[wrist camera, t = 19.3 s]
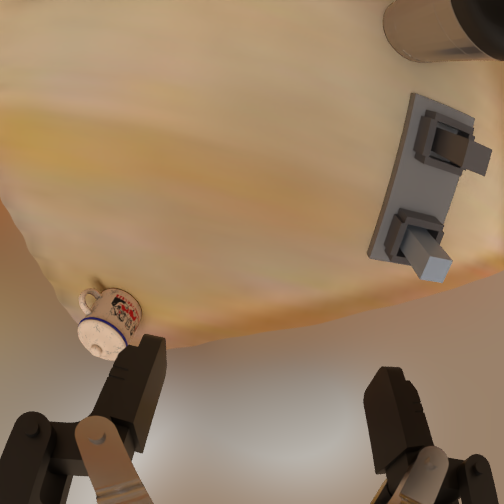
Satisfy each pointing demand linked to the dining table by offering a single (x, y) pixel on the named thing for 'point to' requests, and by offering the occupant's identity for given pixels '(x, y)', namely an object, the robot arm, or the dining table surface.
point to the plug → (425, 254)
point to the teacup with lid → (108, 322)
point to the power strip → (425, 174)
